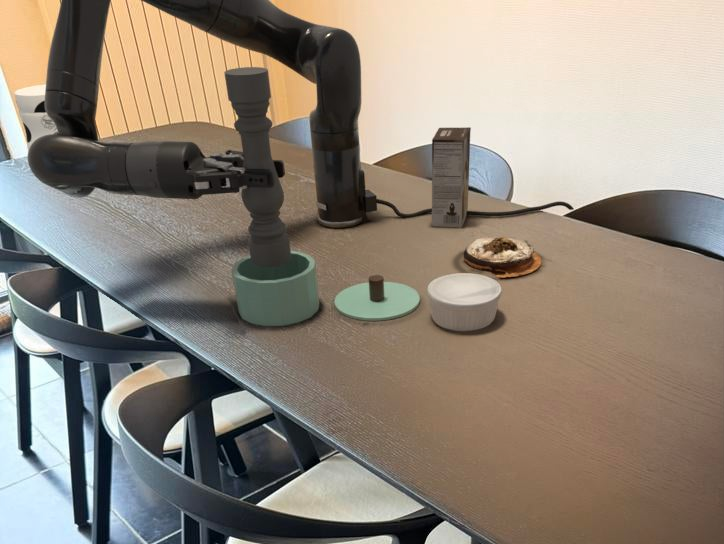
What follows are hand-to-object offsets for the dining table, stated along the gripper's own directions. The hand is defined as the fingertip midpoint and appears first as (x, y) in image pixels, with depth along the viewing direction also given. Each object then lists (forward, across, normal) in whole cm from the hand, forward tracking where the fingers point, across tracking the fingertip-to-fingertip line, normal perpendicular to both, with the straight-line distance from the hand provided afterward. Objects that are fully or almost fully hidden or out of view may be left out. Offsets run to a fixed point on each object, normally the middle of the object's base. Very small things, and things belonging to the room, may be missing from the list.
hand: (278, 173), depth 100 cm
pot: (-2, 0, +21) cm, 21 cm away
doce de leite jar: (-84, +76, +22) cm, 115 cm away
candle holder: (-3, 0, +13) cm, 13 cm away
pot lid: (+13, +4, +20) cm, 24 cm away
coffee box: (+19, +45, +21) cm, 54 cm away
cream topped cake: (+31, +24, +21) cm, 44 cm away
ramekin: (+27, 0, +21) cm, 34 cm away
